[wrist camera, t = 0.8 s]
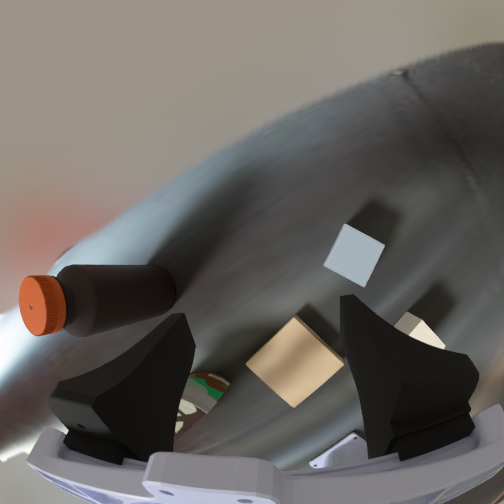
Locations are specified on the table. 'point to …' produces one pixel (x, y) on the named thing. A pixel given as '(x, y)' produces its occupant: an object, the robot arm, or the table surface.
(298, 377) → the oak slab
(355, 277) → the slate block
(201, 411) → the food container
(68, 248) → the table surface
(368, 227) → the table surface
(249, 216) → the table surface
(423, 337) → the cream block
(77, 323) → the bottle
